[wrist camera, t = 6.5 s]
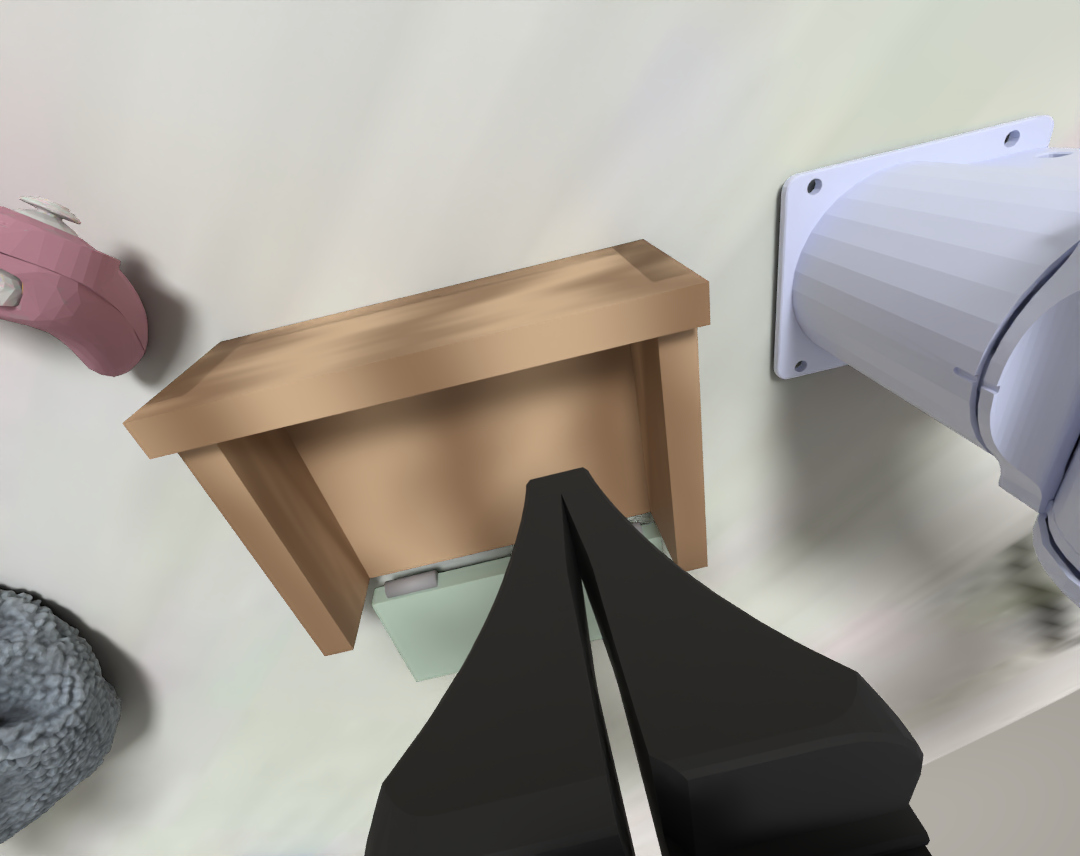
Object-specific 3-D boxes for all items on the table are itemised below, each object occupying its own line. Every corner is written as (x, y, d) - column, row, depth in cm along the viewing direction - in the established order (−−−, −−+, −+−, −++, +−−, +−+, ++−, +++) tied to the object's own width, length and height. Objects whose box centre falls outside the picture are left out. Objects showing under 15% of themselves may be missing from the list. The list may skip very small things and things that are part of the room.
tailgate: (659, 527, 23) (670, 622, 27) (653, 512, 24) (664, 607, 28) (366, 596, 23) (416, 682, 27) (370, 580, 24) (418, 665, 28)
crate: (643, 239, 18) (708, 281, 13) (666, 490, 25) (717, 585, 19) (220, 342, 18) (122, 423, 13) (350, 565, 25) (318, 679, 20)
